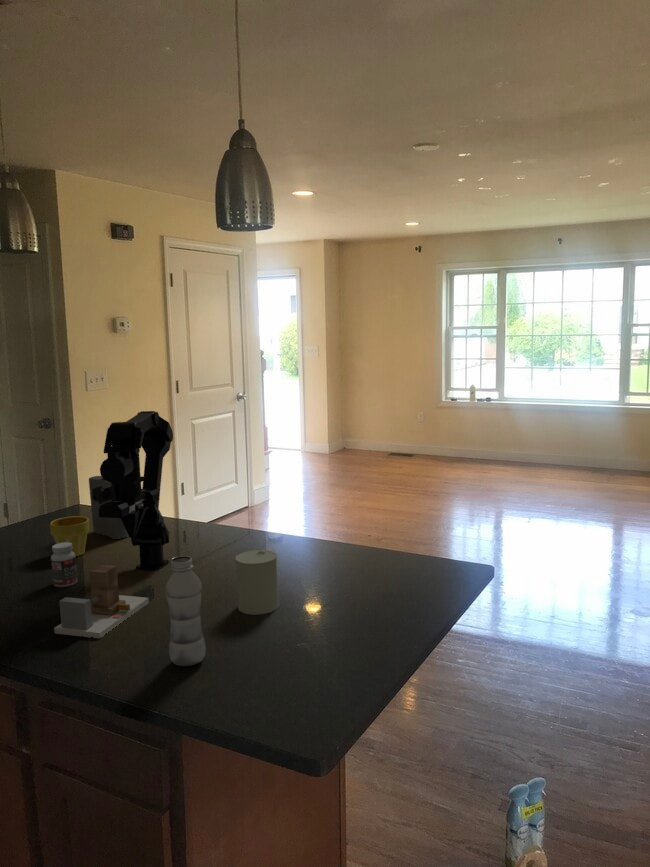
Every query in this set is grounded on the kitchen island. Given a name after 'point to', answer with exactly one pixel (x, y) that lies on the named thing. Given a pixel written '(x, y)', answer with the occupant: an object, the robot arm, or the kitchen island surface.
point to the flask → (103, 524)
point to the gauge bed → (93, 616)
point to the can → (257, 582)
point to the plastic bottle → (185, 613)
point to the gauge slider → (105, 591)
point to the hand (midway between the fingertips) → (132, 537)
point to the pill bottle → (63, 565)
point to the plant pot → (71, 532)
